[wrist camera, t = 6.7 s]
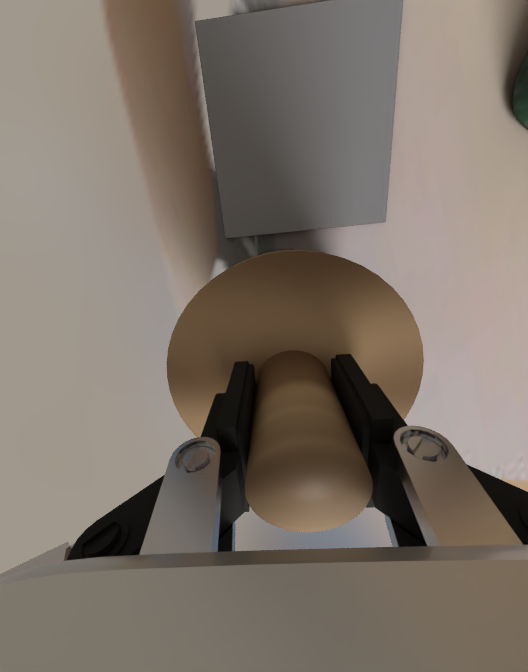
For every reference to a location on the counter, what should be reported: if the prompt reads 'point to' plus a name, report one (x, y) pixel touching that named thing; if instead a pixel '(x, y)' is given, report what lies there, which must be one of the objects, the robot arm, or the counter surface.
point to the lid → (296, 374)
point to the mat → (302, 113)
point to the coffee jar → (521, 94)
